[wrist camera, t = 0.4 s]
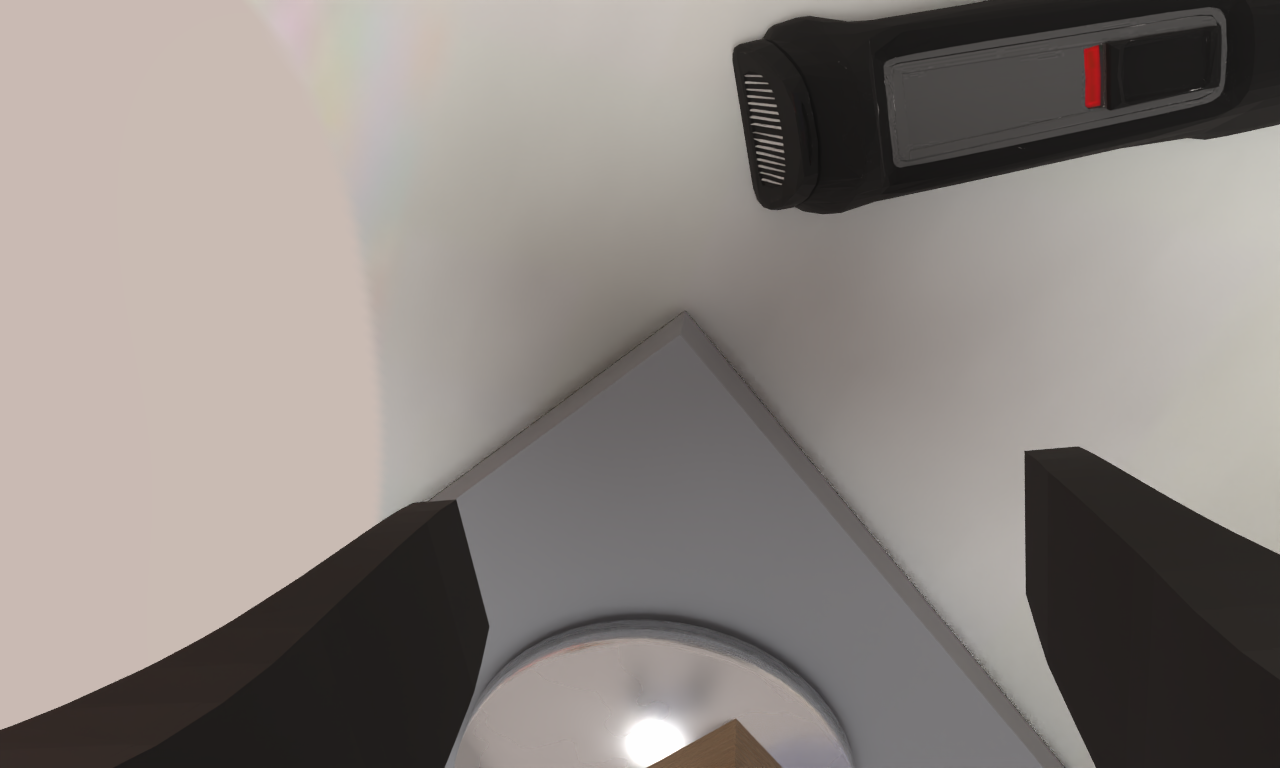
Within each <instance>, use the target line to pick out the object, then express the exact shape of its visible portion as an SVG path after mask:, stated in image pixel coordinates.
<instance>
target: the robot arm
mask: <svg viewBox="0 0 1280 768" xmlns="http://www.w3.org/2000/svg"><path fill="white" fill-rule="evenodd" d="M1025 550H1026V596H1027V599H1028V602H1029V606H1030V609H1031V612H1032V616H1033V619H1034V622H1035V626H1036V629H1037V632H1038V635H1039V639H1040V642H1041V645H1042V648H1043V651H1044V654H1045V657H1046V660H1047V663H1048V666H1049V668H1050V670H1051V672H1052V675H1053V677H1054V679H1055V681H1056V683H1057V686H1058V688H1059V690H1060V692H1061V694H1062V696H1063V698H1064V701H1065V703H1066V705H1067V707H1068V709H1069V711H1070V713H1071V716H1072V718H1073V720H1074V722H1075V724H1076V726H1077V728H1078V730H1079V733H1080V735H1081V737H1082V739H1083V741H1084V743H1085V745H1086V747H1087V749H1088V751H1089V754H1090V756H1091V758H1092V760H1093V762H1094V764H1095V766H1096V768H1280V555H1279V554H1277V553H1275V552H1273V551H1271V550H1269V549H1267V548H1265V547H1263V546H1261V545H1259V544H1257V543H1255V542H1253V541H1251V540H1248V539H1246V538H1244V537H1242V536H1240V535H1238V534H1236V533H1234V532H1232V531H1230V530H1228V529H1226V528H1224V527H1222V526H1221V525H1219V524H1217V523H1215V522H1213V521H1211V520H1209V519H1207V518H1205V517H1203V516H1202V515H1200V514H1198V513H1196V512H1194V511H1192V510H1191V509H1189V508H1187V507H1185V506H1183V505H1182V504H1180V503H1178V502H1176V501H1174V500H1173V499H1171V498H1169V497H1167V496H1166V495H1164V494H1162V493H1160V492H1159V491H1157V490H1155V489H1153V488H1152V487H1150V486H1148V485H1147V484H1145V483H1143V482H1141V481H1140V480H1138V479H1136V478H1135V477H1133V476H1131V475H1129V474H1128V473H1126V472H1124V471H1123V470H1121V469H1119V468H1117V467H1116V466H1114V465H1112V464H1111V463H1109V462H1107V461H1105V460H1104V459H1102V458H1100V457H1098V456H1096V455H1095V454H1093V453H1091V452H1089V451H1087V450H1085V449H1083V448H1081V447H1067V448H1055V449H1043V450H1032V451H1025ZM489 627H490V626H489V622H488V618H487V615H486V611H485V607H484V603H483V599H482V595H481V592H480V588H479V584H478V580H477V576H476V573H475V569H474V565H473V561H472V557H471V554H470V550H469V546H468V542H467V538H466V535H465V531H464V527H463V523H462V519H461V515H460V512H459V508H458V504H457V500H456V499H455V500H443V501H431V502H419V503H412V504H410V505H408V506H406V507H405V508H403V509H401V510H399V511H397V512H396V513H394V514H392V515H391V516H389V517H388V518H386V519H384V520H383V521H381V522H380V523H378V524H377V525H375V526H374V527H372V528H371V529H369V530H368V531H366V532H365V533H363V534H362V535H361V536H359V537H358V538H357V539H355V540H353V541H352V542H350V543H349V544H348V545H346V546H345V547H343V548H342V549H340V550H339V551H338V552H336V553H335V554H333V555H332V556H330V557H329V558H327V559H326V560H324V561H323V562H321V563H320V564H319V565H317V566H316V567H314V568H313V569H311V570H310V571H308V572H307V573H306V574H304V575H303V576H301V577H300V578H298V579H297V580H295V581H294V582H292V583H290V584H289V585H288V586H286V587H284V588H283V589H281V590H280V591H278V592H276V593H275V594H274V595H272V596H270V597H269V598H267V599H266V600H264V601H263V602H261V603H259V604H258V605H256V606H255V607H253V608H251V609H250V610H248V611H247V612H245V613H244V614H242V615H241V616H239V617H238V618H236V619H234V620H233V621H231V622H229V623H227V624H226V625H224V626H223V627H221V628H219V629H217V630H216V631H214V632H212V633H210V634H209V635H207V636H205V637H203V638H202V639H200V640H198V641H196V642H194V643H192V644H191V645H189V646H187V647H185V648H183V649H181V650H179V651H177V652H175V653H174V654H172V655H170V656H168V657H166V658H164V659H162V660H160V661H158V662H157V663H154V664H152V665H150V666H149V667H146V668H144V669H143V670H140V671H138V672H136V673H134V674H132V675H130V676H127V677H125V678H123V679H120V680H119V681H116V682H114V683H112V684H110V685H107V686H105V687H103V688H101V689H99V690H97V691H94V692H92V693H90V694H88V695H86V696H83V697H81V698H79V699H77V700H74V701H72V702H70V703H68V704H65V705H63V706H61V707H58V708H56V709H54V710H51V711H48V712H46V713H43V714H41V715H38V716H36V717H33V718H31V719H28V720H26V721H23V722H21V723H18V724H15V725H13V726H10V727H8V728H5V729H2V730H0V768H445V766H446V763H447V761H448V758H449V756H450V753H451V751H452V748H453V746H454V743H455V741H456V738H457V736H458V733H459V731H460V728H461V726H462V723H463V720H464V718H465V715H466V713H467V710H468V708H469V705H470V702H471V700H472V697H473V694H474V691H475V687H476V683H477V679H478V675H479V672H480V668H481V664H482V659H483V655H484V650H485V645H486V641H487V636H488V632H489Z"/></svg>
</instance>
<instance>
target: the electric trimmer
mask: <svg viewBox="0 0 1280 768" xmlns="http://www.w3.org/2000/svg"><path fill="white" fill-rule="evenodd" d="M1222 12H1223V13H1222ZM1223 14H1224V15H1223ZM733 66H734V72H735V78H736V84H737V91H738V97H739V103H740V109H741V115H742V122H743V128H744V134H745V140H746V146H747V152H748V158H749V165H750V171H751V177H752V183H753V188H754V191H755V194H756V197H757V200H758V201H759V202H760V204H761V205H762V206H763V207H765V208H767V209H770V210H781V209H787V208H792V207H796V208H798V209H800V210H802V211H805V212H812V213H818V214H832V213H842V212H845V211H848V210H851V209H854V208H857V207H860V206H863V205H866V204H869V203H872V202H876V201H880V200H885V199H890V198H895V197H899V196H904V195H909V194H913V193H918V192H923V191H928V190H932V189H937V188H942V187H946V186H951V185H956V184H961V183H965V182H970V181H974V180H979V179H983V178H988V177H992V176H997V175H1002V174H1006V173H1011V172H1015V171H1020V170H1024V169H1029V168H1033V167H1038V166H1042V165H1047V164H1052V163H1056V162H1061V161H1065V160H1070V159H1074V158H1079V157H1083V156H1088V155H1092V154H1097V153H1102V152H1106V151H1111V150H1115V149H1120V148H1126V147H1132V146H1139V145H1145V144H1152V143H1158V142H1164V141H1171V140H1177V139H1184V138H1193V139H1204V140H1206V139H1211V138H1217V137H1223V136H1228V135H1233V134H1238V133H1242V132H1247V131H1251V130H1256V129H1260V128H1265V127H1270V126H1274V125H1279V124H1280V0H988V1H983V2H978V3H972V4H967V5H961V6H955V7H949V8H943V9H937V10H931V11H925V12H919V13H913V14H907V15H900V16H894V17H888V18H882V19H876V20H868V21H853V22H846V21H839V20H832V19H825V18H819V17H812V16H808V17H799V18H794V19H791V20H788V21H785V22H782V23H779V24H776V25H773V26H772V27H771V28H769V29H768V31H767V33H766V34H765V36H764V38H763V39H762V40H756V41H752V42H748V43H744V44H739V45H738V46H736V47H735V48H734V52H733ZM1204 96H1205V97H1204Z"/></svg>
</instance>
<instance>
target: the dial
mask: <svg viewBox="0 0 1280 768" xmlns="http://www.w3.org/2000/svg"><path fill="white" fill-rule="evenodd" d="M454 768H855V765H854V760H853V755H852V751H851V749H850V746H849V743H848V741H847V738H846V735H845V733H844V731H843V729H842V727H841V725H840V724H839V722H838V720H837V718H836V717H835V715H834V713H833V712H832V710H831V709H830V708H829V707H828V705H827V704H826V703H825V701H824V700H823V699H822V698H821V696H820V695H819V694H818V693H817V692H816V691H815V690H814V689H813V688H812V687H811V686H810V685H809V684H808V683H807V682H806V681H805V680H804V679H803V678H802V677H801V676H799V675H798V674H797V673H795V672H794V671H793V670H791V669H790V668H789V667H787V666H786V665H785V664H784V663H782V662H781V661H779V660H778V659H776V658H774V657H773V656H771V655H769V654H767V653H766V652H764V651H762V650H761V649H759V648H757V647H755V646H753V645H750V644H748V643H746V642H744V641H741V640H739V639H737V638H734V637H732V636H729V635H726V634H723V633H720V632H717V631H713V630H710V629H707V628H703V627H698V626H693V625H688V624H683V623H678V622H669V621H658V620H619V621H612V622H604V623H596V624H592V625H588V626H584V627H580V628H576V629H572V630H568V631H566V632H563V633H561V634H558V635H555V636H553V637H550V638H548V639H545V640H544V641H542V642H540V643H538V644H536V645H534V646H533V647H531V648H529V649H527V650H525V651H524V652H523V653H521V654H520V655H519V656H517V657H516V658H515V659H513V660H512V661H511V662H509V663H508V664H507V665H506V666H505V667H504V668H503V669H502V670H501V671H500V672H499V673H498V674H497V675H496V676H495V677H494V678H493V679H492V680H491V682H490V683H489V684H488V686H487V687H486V688H485V690H484V691H483V693H482V694H481V695H480V697H479V699H478V701H477V703H476V706H475V708H474V710H473V712H472V714H471V716H470V719H469V722H468V724H467V727H466V729H465V732H464V735H463V737H462V740H461V743H460V746H459V749H458V753H457V756H456V760H455V766H454Z"/></svg>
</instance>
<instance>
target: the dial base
mask: <svg viewBox="0 0 1280 768" xmlns="http://www.w3.org/2000/svg"><path fill="white" fill-rule="evenodd" d="M455 499H456V500H457V504H458V508H459V512H460V515H461V519H462V523H463V527H464V531H465V535H466V538H467V542H468V546H469V550H470V554H471V557H472V561H473V565H474V569H475V573H476V576H477V580H478V584H479V588H480V592H481V595H482V599H483V603H484V607H485V611H486V615H487V618H488V622H489V626H490V627H489V632H488V636H487V641H486V645H485V650H484V655H483V659H482V664H481V668H480V672H479V675H478V679H477V683H476V687H475V691H474V694H473V697H472V700H471V702H470V705H469V708H468V710H467V713H466V715H465V718H464V720H463V723H462V726H461V728H460V731H459V733H458V736H457V738H456V741H455V743H454V746H453V748H452V751H451V753H450V756H449V758H448V761H447V763H446V766H445V768H454V766H455V760H456V756H457V753H458V749H459V746H460V743H461V740H462V737H463V735H464V732H465V729H466V727H467V724H468V722H469V719H470V716H471V714H472V712H473V710H474V708H475V706H476V703H477V701H478V699H479V697H480V695H481V694H482V693H483V691H484V690H485V688H486V687H487V686H488V684H489V683H490V682H491V680H492V679H493V678H494V677H495V676H496V675H497V674H498V673H499V672H500V671H501V670H502V669H503V668H504V667H505V666H506V665H507V664H508V663H509V662H511V661H512V660H513V659H515V658H516V657H517V656H519V655H520V654H521V653H523V652H524V651H525V650H527V649H529V648H531V647H533V646H534V645H536V644H538V643H540V642H542V641H544V640H545V639H548V638H550V637H553V636H555V635H558V634H561V633H563V632H566V631H568V630H572V629H576V628H580V627H584V626H588V625H592V624H596V623H604V622H612V621H619V620H658V621H669V622H678V623H683V624H688V625H693V626H698V627H703V628H707V629H710V630H713V631H717V632H720V633H723V634H726V635H729V636H732V637H734V638H737V639H739V640H741V641H744V642H746V643H748V644H750V645H753V646H755V647H757V648H759V649H761V650H762V651H764V652H766V653H767V654H769V655H771V656H773V657H774V658H776V659H778V660H779V661H781V662H782V663H784V664H785V665H786V666H787V667H789V668H790V669H791V670H793V671H794V672H795V673H797V674H798V675H799V676H801V677H802V678H803V679H804V680H805V681H806V682H807V683H808V684H809V685H810V686H811V687H812V688H813V689H814V690H815V691H816V692H817V693H818V694H819V695H820V696H821V698H822V699H823V700H824V701H825V703H826V704H827V705H828V707H829V708H830V709H831V710H832V712H833V713H834V715H835V717H836V718H837V720H838V722H839V724H840V725H841V727H842V729H843V731H844V733H845V735H846V738H847V741H848V743H849V746H850V749H851V751H852V755H853V760H854V765H855V768H1065V767H1064V766H1063V765H1062V764H1061V763H1060V761H1059V760H1058V759H1057V758H1056V756H1055V755H1054V754H1053V753H1052V752H1051V750H1050V749H1049V748H1048V747H1047V746H1046V744H1045V743H1044V742H1043V741H1042V740H1041V738H1040V737H1039V736H1038V735H1037V734H1036V732H1035V731H1034V730H1033V729H1032V728H1031V726H1030V725H1029V724H1028V723H1027V722H1026V720H1025V719H1024V718H1023V717H1022V716H1021V714H1020V713H1019V712H1018V711H1017V710H1016V708H1015V707H1014V706H1013V705H1012V704H1011V702H1010V701H1009V700H1008V699H1007V697H1006V696H1005V695H1004V694H1003V693H1002V691H1001V690H1000V689H999V688H998V687H997V685H996V684H995V683H994V682H993V681H992V679H991V678H990V677H989V676H988V675H987V673H986V672H985V671H984V670H983V669H982V667H981V666H980V665H979V664H978V663H977V661H976V660H975V659H974V658H973V657H972V655H971V654H970V653H969V652H968V651H967V649H966V648H965V647H964V646H963V645H962V643H961V642H960V641H959V640H958V638H957V637H956V636H955V635H954V634H953V632H952V631H951V630H950V629H949V628H948V626H947V625H946V624H945V623H944V622H943V620H942V619H941V618H940V617H939V616H938V614H937V613H936V612H935V611H934V610H933V608H932V607H931V606H930V605H929V604H928V602H927V601H926V600H925V599H924V598H923V596H922V595H921V594H920V593H919V592H918V590H917V589H916V588H915V587H914V586H913V584H912V583H911V582H910V581H909V579H908V578H907V577H906V576H905V575H904V573H903V572H902V571H901V570H900V569H899V567H898V566H897V565H896V564H895V563H894V561H893V560H892V559H891V558H890V557H889V555H888V554H887V553H886V552H885V551H884V549H883V548H882V547H881V546H880V545H879V543H878V542H877V541H876V540H875V539H874V537H873V536H872V535H871V534H870V533H869V531H868V530H867V529H866V528H865V527H864V525H863V524H862V523H861V522H860V520H859V519H858V518H857V517H856V516H855V514H854V513H853V512H852V511H851V510H850V508H849V507H848V506H847V505H846V504H845V502H844V501H843V500H842V499H841V498H840V496H839V495H838V494H837V493H836V492H835V490H834V489H833V488H832V487H831V486H830V484H829V483H828V482H827V481H826V480H825V478H824V477H823V476H822V475H821V474H820V472H819V471H818V470H817V469H816V468H815V466H814V465H813V464H812V463H811V462H810V460H809V459H808V458H807V457H806V455H805V454H804V453H803V452H802V451H801V449H800V448H799V447H798V446H797V445H796V443H795V442H794V441H793V440H792V439H791V437H790V436H789V435H788V434H787V433H786V431H785V430H784V429H783V428H782V427H781V425H780V424H779V423H778V422H777V421H776V419H775V418H774V417H773V416H772V415H771V413H770V412H769V411H768V410H767V409H766V407H765V406H764V405H763V404H762V403H761V401H760V400H759V399H758V398H757V396H756V395H755V394H754V393H753V392H752V390H751V389H750V388H749V387H748V386H747V384H746V383H745V382H744V381H743V380H742V378H741V377H740V376H739V375H738V374H737V372H736V371H735V370H734V369H733V368H732V366H731V365H730V364H729V363H728V362H727V360H726V359H725V358H724V357H723V356H722V354H721V353H720V352H719V351H718V350H717V348H716V347H715V346H714V345H713V344H712V342H711V341H710V340H709V339H708V337H707V336H706V335H705V334H704V333H703V331H702V330H701V329H700V328H699V327H698V325H697V324H696V323H695V322H694V321H693V319H692V318H691V317H690V316H689V315H688V313H687V312H686V311H684V312H683V313H681V314H680V315H679V316H677V317H676V318H675V319H673V320H672V321H671V322H669V323H668V324H667V325H665V326H664V327H663V328H661V329H660V330H659V331H657V332H656V333H654V334H653V335H652V336H650V337H649V338H648V339H646V340H645V341H644V342H642V343H641V344H640V345H638V346H637V347H636V348H634V349H633V350H632V351H630V352H629V353H628V354H626V355H625V356H623V357H622V358H621V359H619V360H618V361H617V362H615V363H614V364H613V365H611V366H610V367H609V368H607V369H606V370H605V371H603V372H602V373H601V374H599V375H598V376H597V377H595V378H594V379H592V380H591V381H590V382H588V383H587V384H586V385H584V386H583V387H582V388H580V389H579V390H578V391H576V392H575V393H574V394H572V395H571V396H570V397H568V398H567V399H565V400H564V401H563V402H561V403H560V404H559V405H557V406H556V407H555V408H553V409H552V410H551V411H549V412H548V413H547V414H545V415H544V416H543V417H541V418H540V419H539V420H537V421H536V422H534V423H533V424H532V425H530V426H529V427H528V428H526V429H525V430H524V431H522V432H521V433H520V434H518V435H517V436H516V437H514V438H513V439H512V440H510V441H509V442H507V443H506V444H505V445H503V446H502V447H501V448H499V449H498V450H497V451H495V452H494V453H493V454H491V455H490V456H489V457H487V458H486V459H485V460H483V461H482V462H481V463H479V464H478V465H476V466H475V467H474V468H472V469H471V470H470V471H468V472H467V473H466V474H464V475H463V476H462V477H460V478H459V479H458V480H456V481H455V482H454V483H452V484H451V485H450V486H448V487H447V488H445V489H444V490H443V491H441V492H440V493H439V494H437V495H436V496H435V497H433V498H432V499H431V500H429V501H428V502H431V501H443V500H455Z"/></svg>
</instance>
